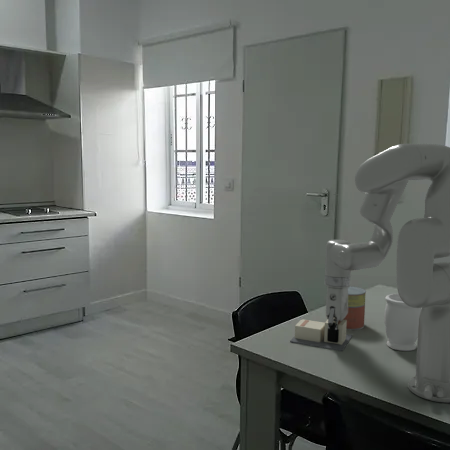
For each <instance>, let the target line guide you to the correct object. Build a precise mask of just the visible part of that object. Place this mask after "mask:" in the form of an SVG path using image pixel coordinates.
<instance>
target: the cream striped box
mask: <svg viewBox="0 0 450 450" xmlns="http://www.w3.org/2000/svg"><path fill="white" fill-rule="evenodd" d="M324 332H325V322H324V321H323V322H322V321H316V320H309V319H303V318H302V319H300V320H299V321H298V322H297V323H296V324H295V325H294V336H295V338H297V339H303V340H309V341H315V342H322V340H323V339H324Z"/></svg>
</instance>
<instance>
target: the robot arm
mask: <svg viewBox="0 0 450 450" xmlns="http://www.w3.org/2000/svg"><path fill="white" fill-rule="evenodd" d="M417 180H418V181H421V180H429V181H431V184H430V185H429V186H428V189H427V192H426V194H425V199H424V216H423V217H418V218H413V219H410V220H408V221H407V222H405V223H404V225H402V227H401V228H400V229H399V232H398V235H397V241H396V290H397V294H399V296H400V298H401V299H402V301H403V302H404V303H405V304H406V305H408V306H410V307H413V308H421V312H420V316H419V326H418V338H417V341H416V342H417V344H416V358H415V359H416V360H415V361H416V362H415V376H413V377H411V378H410V379H408V383H407V387H408V389H409V391H410V392H412V393H413V394H414V395H416V396H417V397H420V398H423V399H425V400H428V401H432V402H437V403H450V262H447V261H446V262H445V261H440V262H435V261H434V260H435V259H441V258H448V257H450V147H449V146H447V145H443V144H436V143H399V144H396V145H393V146H391V147H389V148H387V149H385V150H383V151H381V152H379V153H378V154H376V155H374V156H372V157H370V158H367V160H365V161H364V162H362V163H361V164H360V165H359V166H358V168H357V170H356V172H355V176H354V184H355V186H356V189H357V190H358V191H360V193H362V194H365V196H364V198H363V201H362V204H361V205H360V207H359V213H360V215H361V217H363V218H364V220H366V221H367V222H369V223H371V224H373V225H374V226H373V227H374V229H373V231H372V233H371V236H370V239H369V240H368V242H367V241H366V242H365V241H364V242H355V243H351V242H350V241H349V240H346V239H345V240H344V239H330V240H328V241H327V242H326V244H325V264H324V269H325V270H324V286H325V287H326V289H327V290H326V302H325V303H326V304H325V318H326V320H328V335H327V341H329V342H335V343H337V342H338V336H339V330H338V321H339V320H340V321H342V320H343V319H344V318H345V317H346V315H347V314H348V288H349V287H350V286H351V271H358V270H363V269H364V270H366V269H373V268H378V267H379V266H380V265H382V264H383V262H385V261H384V260H385V259H386V258H387V255H388V254H389V251H390V249H391V247H392V245H393V241H394V233H393V225H392V223H391V219H392V217H393V215H394V214H395V213H394V212H395V210H396V208H397V206H398V204H399V202H400V200H401V198H402V196H403V193H404V191H405V189H406V187H407V185H408V182H409V181H417ZM334 318H335V319H334ZM334 321H336V325H335V323H334Z"/></svg>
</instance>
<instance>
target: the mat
mask: <svg viewBox="0 0 450 450" xmlns="http://www.w3.org/2000/svg"><path fill="white" fill-rule="evenodd" d="M352 337H353V334H349V333H346V340H345V341H344V342H343V344H342V345H340V344H334V343H328V342H324V339H323V340H322V342H315V341H309V340H303V339H297V338H295V335H294V336H293V337H292V338H291V339H290V340H289V342H290V343H293V344H299V345H304V346H310V347H317V348H322V349H327V350H334V351H339V352H343V351H344V349H345V348H346V346H347V344H348V343H349V341H350V340H351V339H352Z"/></svg>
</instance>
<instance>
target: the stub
mask: <svg viewBox="0 0 450 450" xmlns="http://www.w3.org/2000/svg"><path fill="white" fill-rule="evenodd" d="M334 319H335V318H334ZM324 323H325V332H324V342H328V343H334V344H340V345H342V344H343V342H344V341H345V340H346V334H347V330H346V325H347V320H342V321H340V320H339V321H338V330H339V336H338V342H337V343H335V342H329V341H327V335H328V319H326V321H325V322H324ZM334 323H335V325H336V321H334Z"/></svg>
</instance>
